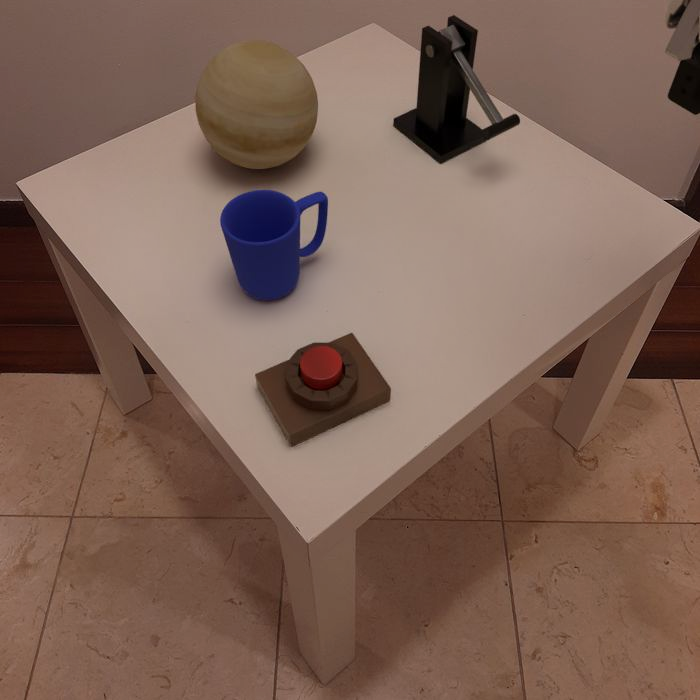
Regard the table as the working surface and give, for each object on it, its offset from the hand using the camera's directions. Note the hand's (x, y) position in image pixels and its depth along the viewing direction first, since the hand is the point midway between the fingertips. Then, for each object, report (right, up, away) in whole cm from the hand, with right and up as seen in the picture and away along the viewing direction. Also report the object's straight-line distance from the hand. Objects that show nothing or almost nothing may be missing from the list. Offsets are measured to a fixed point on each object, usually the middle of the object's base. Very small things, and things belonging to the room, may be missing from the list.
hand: (688, 103), depth 62 cm
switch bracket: (-16, +9, +38) cm, 42 cm away
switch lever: (-14, +11, +29) cm, 34 cm away
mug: (-36, -12, +23) cm, 44 cm away
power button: (-31, -23, +10) cm, 40 cm away
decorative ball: (-39, +5, +36) cm, 54 cm away
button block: (-31, -25, +13) cm, 42 cm away
